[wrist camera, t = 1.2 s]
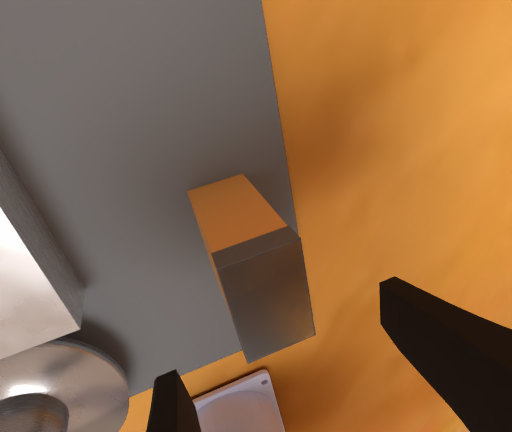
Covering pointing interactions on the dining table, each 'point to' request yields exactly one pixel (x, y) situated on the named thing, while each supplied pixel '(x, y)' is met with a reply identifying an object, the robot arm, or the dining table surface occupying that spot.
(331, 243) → the dining table surface
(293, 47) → the dining table surface
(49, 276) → the scaffold node
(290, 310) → the orange grey two-tone block
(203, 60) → the site mat
